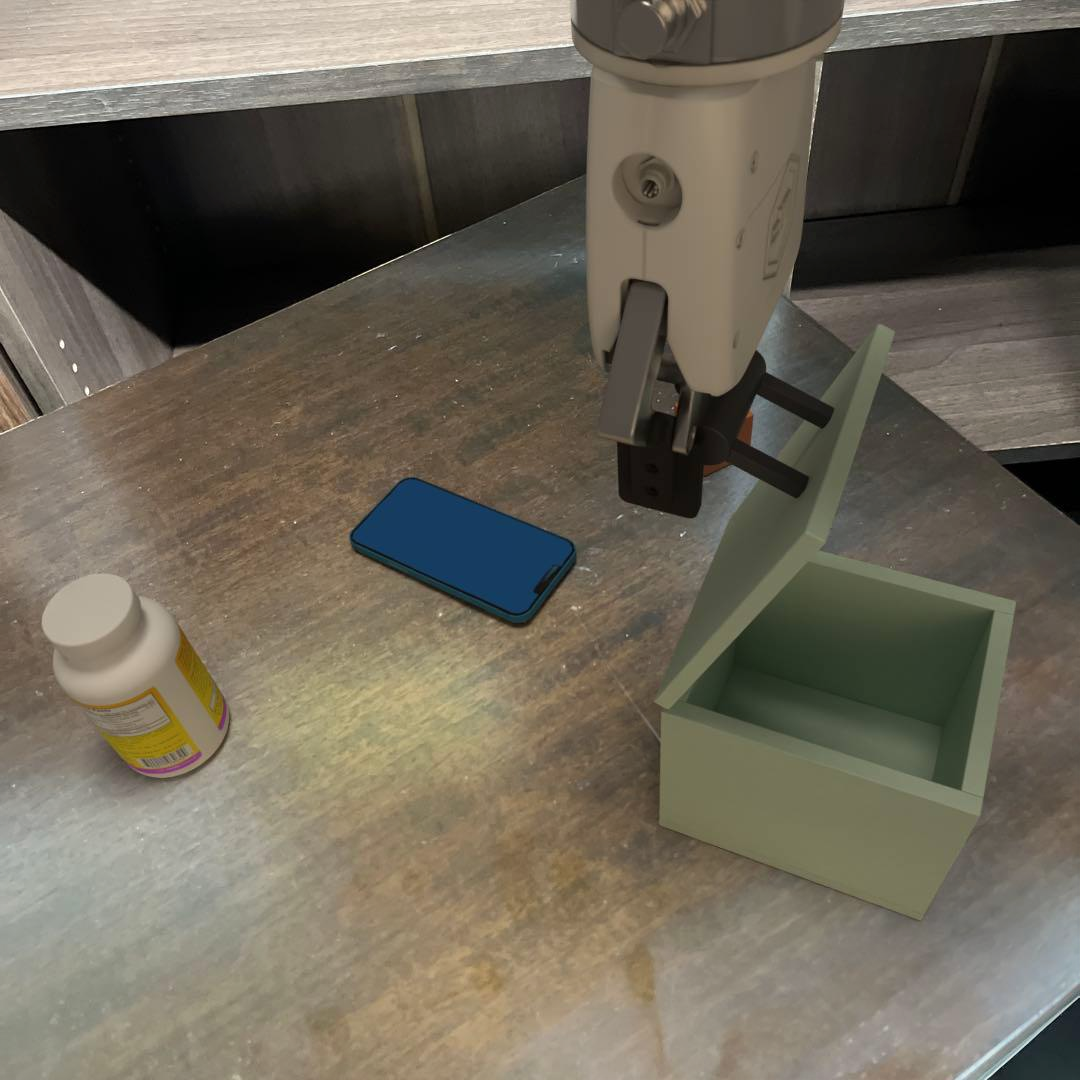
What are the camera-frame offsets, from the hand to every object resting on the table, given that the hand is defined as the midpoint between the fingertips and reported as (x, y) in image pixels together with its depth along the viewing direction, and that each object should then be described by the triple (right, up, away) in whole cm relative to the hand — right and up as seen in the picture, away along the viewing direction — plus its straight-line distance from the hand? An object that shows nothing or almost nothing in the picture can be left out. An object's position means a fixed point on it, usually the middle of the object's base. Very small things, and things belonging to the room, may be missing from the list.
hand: (687, 445), depth 40 cm
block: (+6, +3, +32) cm, 33 cm away
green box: (+9, -17, +15) cm, 24 cm away
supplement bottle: (-28, -16, +20) cm, 38 cm away
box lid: (+4, -4, +2) cm, 6 cm away
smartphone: (-11, -5, +28) cm, 30 cm away
